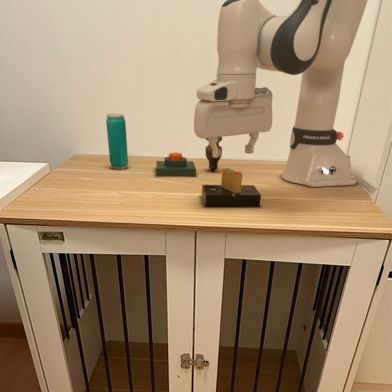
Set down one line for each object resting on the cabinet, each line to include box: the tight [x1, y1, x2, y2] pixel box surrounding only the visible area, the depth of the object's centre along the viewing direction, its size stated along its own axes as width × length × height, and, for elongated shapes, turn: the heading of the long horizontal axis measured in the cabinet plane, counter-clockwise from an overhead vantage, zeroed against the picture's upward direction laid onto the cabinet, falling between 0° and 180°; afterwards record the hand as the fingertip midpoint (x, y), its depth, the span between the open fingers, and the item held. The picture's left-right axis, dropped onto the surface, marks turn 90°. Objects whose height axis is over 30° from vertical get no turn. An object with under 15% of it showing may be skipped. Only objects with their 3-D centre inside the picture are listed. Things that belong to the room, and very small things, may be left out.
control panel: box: [201, 184, 262, 208], centre depth 106 cm, size 14×11×3 cm
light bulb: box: [204, 137, 223, 172], centre depth 128 cm, size 6×6×15 cm
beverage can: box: [105, 113, 129, 171], centre depth 128 cm, size 6×6×15 cm
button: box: [168, 152, 183, 160], centre depth 127 cm, size 4×4×2 cm
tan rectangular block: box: [220, 167, 243, 193], centre depth 104 cm, size 6×2×5 cm, turn 29°
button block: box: [155, 156, 197, 177], centre depth 129 cm, size 12×10×4 cm
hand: (233, 155), depth 101 cm, fingers open, 8 cm apart
